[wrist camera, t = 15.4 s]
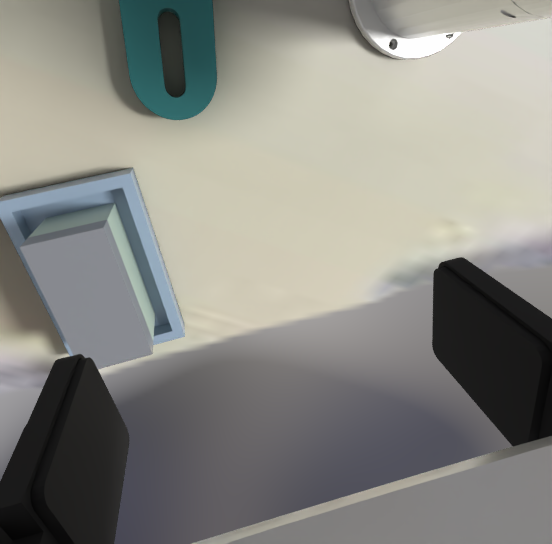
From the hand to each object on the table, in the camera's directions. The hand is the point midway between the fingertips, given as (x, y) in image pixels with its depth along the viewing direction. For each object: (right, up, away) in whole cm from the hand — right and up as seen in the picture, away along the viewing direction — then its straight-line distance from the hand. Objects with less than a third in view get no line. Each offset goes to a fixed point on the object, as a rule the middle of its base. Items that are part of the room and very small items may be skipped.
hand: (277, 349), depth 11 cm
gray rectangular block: (-16, +2, +28) cm, 32 cm away
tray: (-17, +3, +29) cm, 33 cm away
